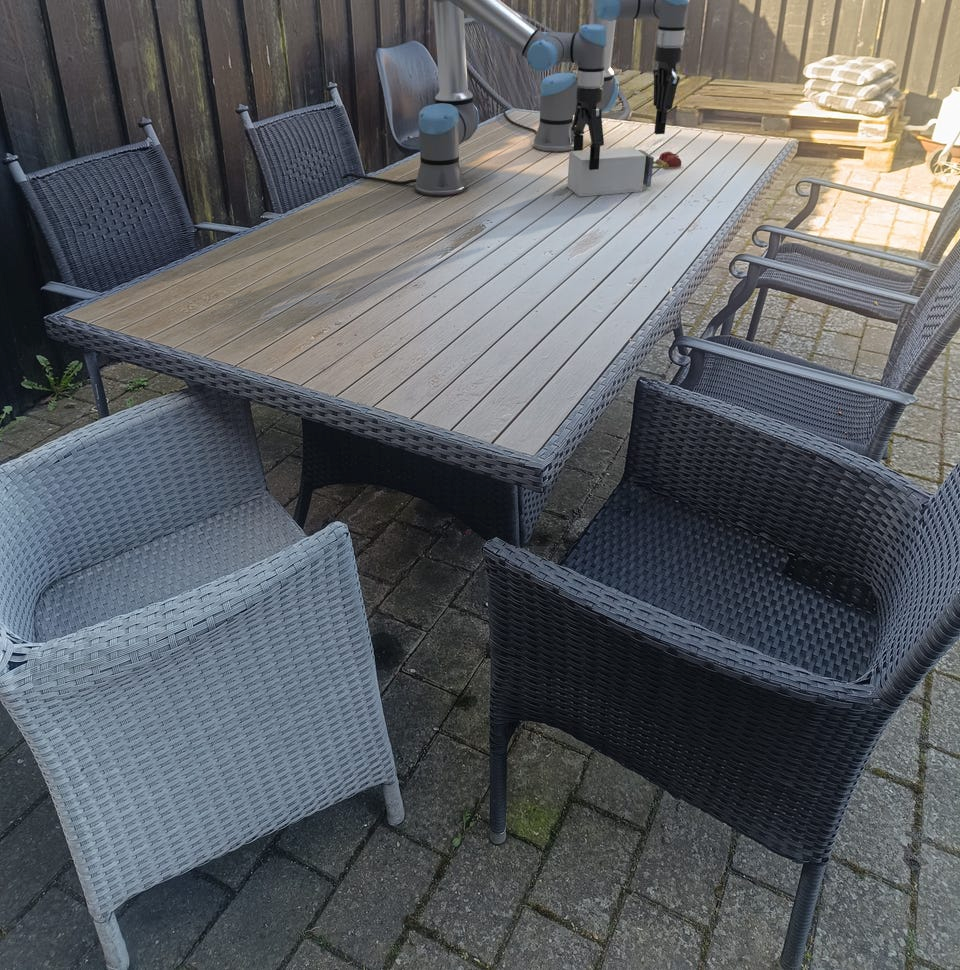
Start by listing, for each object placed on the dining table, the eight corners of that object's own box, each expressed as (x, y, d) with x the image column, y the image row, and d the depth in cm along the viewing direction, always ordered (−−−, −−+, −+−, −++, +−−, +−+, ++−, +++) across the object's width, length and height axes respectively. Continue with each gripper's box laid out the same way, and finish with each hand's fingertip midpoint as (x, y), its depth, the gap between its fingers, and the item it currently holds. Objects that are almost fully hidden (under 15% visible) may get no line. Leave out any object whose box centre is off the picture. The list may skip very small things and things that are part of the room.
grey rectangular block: (628, 181, 265) (632, 146, 259) (642, 191, 257) (646, 155, 251) (567, 186, 261) (569, 151, 255) (579, 196, 253) (581, 160, 247)
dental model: (673, 148, 282) (683, 154, 275) (672, 161, 284) (682, 167, 278) (657, 149, 281) (667, 156, 274) (656, 162, 283) (666, 169, 277)
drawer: (656, 177, 266) (659, 148, 261) (669, 185, 259) (672, 156, 254) (580, 183, 261) (582, 153, 256) (591, 192, 254) (593, 161, 248)
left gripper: (619, 93, 231) (613, 173, 244) (586, 78, 251) (582, 152, 263) (593, 95, 230) (588, 175, 242) (563, 79, 249) (559, 154, 262)
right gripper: (692, 49, 236) (680, 137, 249) (671, 42, 246) (661, 127, 260) (667, 50, 234) (657, 139, 248) (647, 43, 244) (639, 129, 258)
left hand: (585, 163), depth 253 cm, fingers open, 13 cm apart
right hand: (659, 133), depth 254 cm, fingers closed
